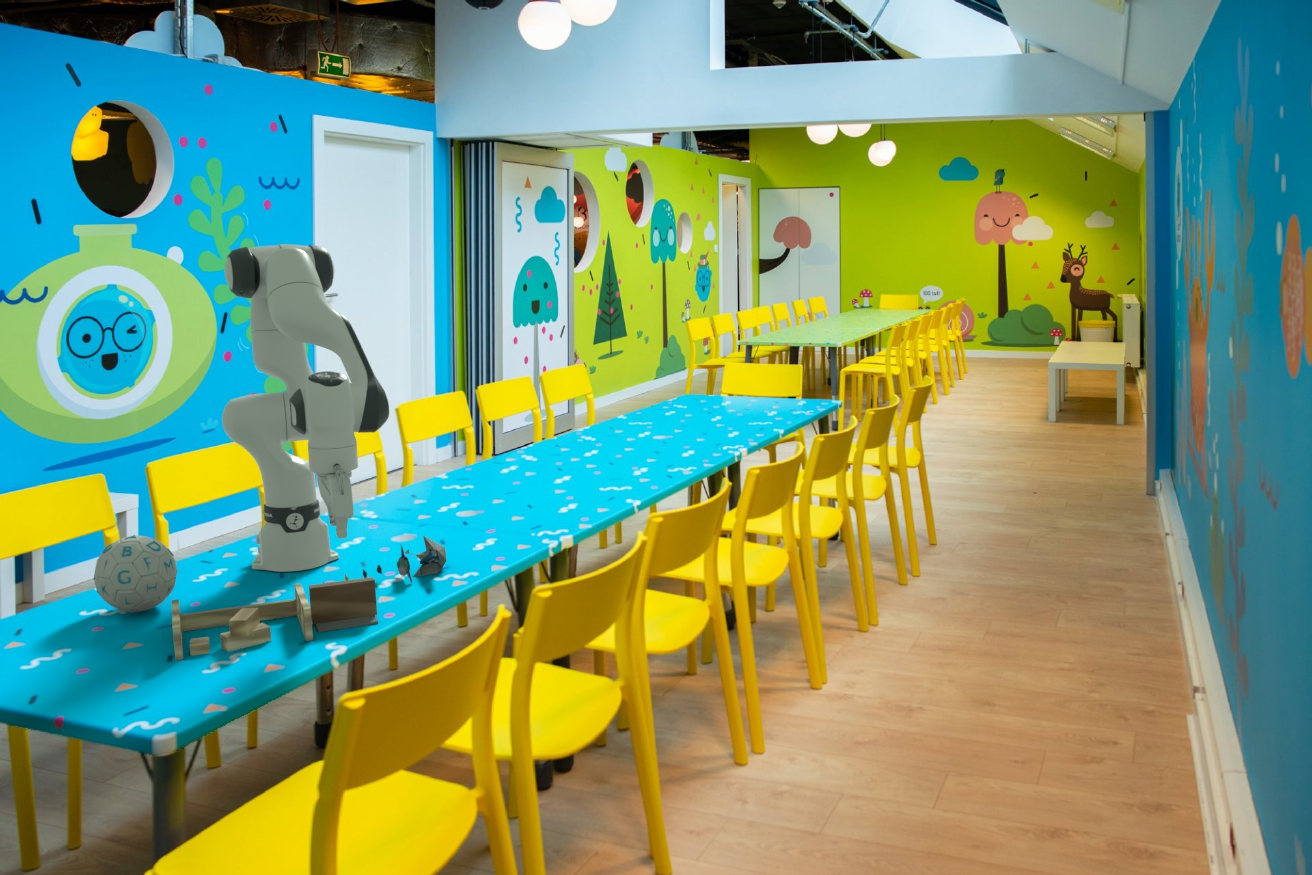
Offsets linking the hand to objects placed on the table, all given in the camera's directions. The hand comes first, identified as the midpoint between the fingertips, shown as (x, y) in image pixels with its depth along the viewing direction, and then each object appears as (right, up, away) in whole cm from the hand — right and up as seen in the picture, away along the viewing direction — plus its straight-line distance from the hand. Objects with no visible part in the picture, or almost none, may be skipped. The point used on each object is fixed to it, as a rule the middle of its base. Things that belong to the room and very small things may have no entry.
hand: (338, 531), depth 217 cm
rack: (-16, -19, -5) cm, 25 cm away
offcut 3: (-14, -20, -9) cm, 26 cm away
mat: (0, -17, +3) cm, 18 cm away
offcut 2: (-14, -17, -10) cm, 24 cm away
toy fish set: (+4, -13, +25) cm, 29 cm away
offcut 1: (-21, -21, -12) cm, 32 cm away
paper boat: (+10, -12, +36) cm, 39 cm away
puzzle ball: (-43, -17, +12) cm, 47 cm away
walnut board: (0, -17, +3) cm, 17 cm away
